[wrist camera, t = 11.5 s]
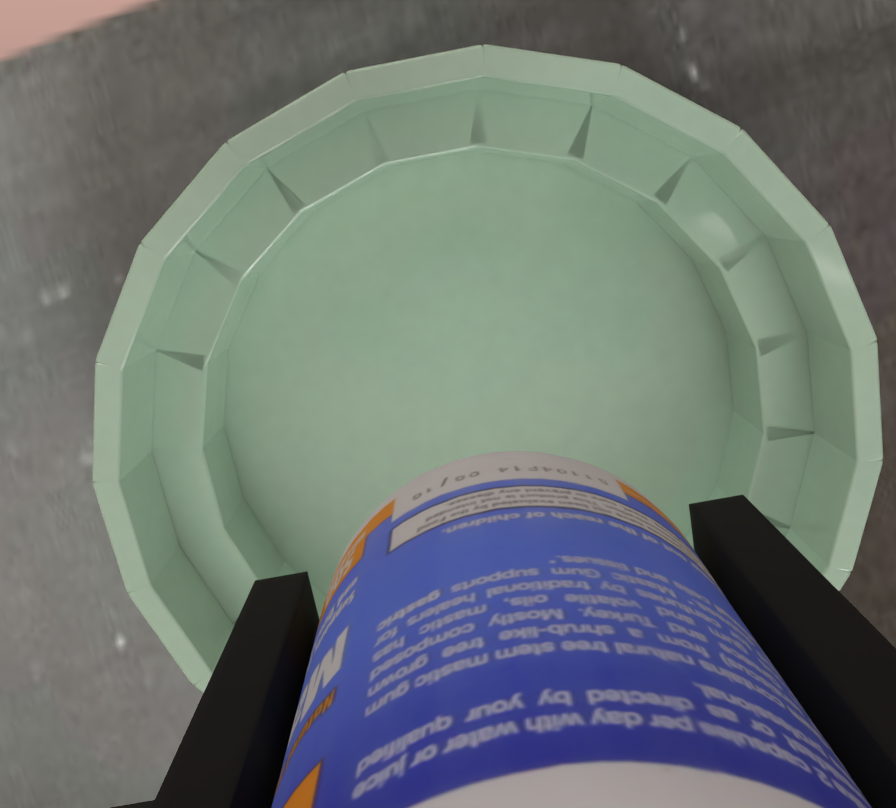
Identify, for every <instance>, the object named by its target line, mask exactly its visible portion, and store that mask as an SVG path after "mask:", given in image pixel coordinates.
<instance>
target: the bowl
mask: <svg viewBox="0 0 896 808" xmlns="http://www.w3.org/2000/svg"><path fill="white" fill-rule="evenodd" d="M876 340H877V337H876V335H875V332H874V330H873V328H872V325H871V323H870V320H869V318H868V315H867V313H866V310H865V308H864V306H863V303H862V301H861V298H860V296H859V293H858V291H857V289H856V286H855V284H854V281H853V279H852V276H851V274H850V272H849V269H848V267H847V264H846V262H845V259H844V257H843V254H842V252H841V250H840V247H839V245H838V242H837V240H836V237H835V235H834V233H833V230H832V228H831V226H830V225H828V222H827V221H826V220H825V219H824V218H823V216H822V215H821V214H820V213H819V212H818V211H817V210H816V209H815V208H814V207H813V205H812V204H811V203H810V202H809V201H808V200H807V199H806V198H805V197H804V196H803V194H802V193H801V192H800V191H799V190H798V189H797V188H796V187H795V186H794V184H793V183H792V182H791V181H790V180H789V179H788V178H787V177H786V176H785V175H784V173H783V172H782V171H781V170H780V169H779V168H778V167H777V166H776V165H775V164H774V162H773V161H772V160H771V159H770V158H769V157H768V156H767V155H766V154H765V153H764V151H763V150H762V149H761V148H760V147H759V146H758V145H757V144H756V143H755V142H754V140H753V139H752V138H751V137H750V136H749V135H748V134H747V133H746V132H745V130H742V129H740V127H739V126H738V125H736V124H734V123H732V122H730V121H728V120H727V119H725V118H723V117H721V116H719V115H717V114H715V113H713V112H711V111H710V110H708V109H706V108H704V107H702V106H700V105H698V104H696V103H694V102H693V101H691V100H689V99H687V98H685V97H683V96H681V95H679V94H677V93H676V92H674V91H672V90H670V89H668V88H666V87H664V86H662V85H660V84H659V83H657V82H655V81H653V80H651V79H649V78H647V77H645V76H643V75H642V74H640V73H638V72H636V71H634V70H632V69H630V68H628V67H626V66H621V65H620V64H619V63H613V62H606V61H599V60H592V59H585V58H578V57H572V56H565V55H558V54H551V53H544V52H537V51H530V50H523V49H516V48H510V47H503V46H496V45H489V44H484V45H483V46H482V45H474V46H469V47H464V48H459V49H454V50H449V51H444V52H439V53H433V54H428V55H423V56H418V57H413V58H408V59H403V60H398V61H393V62H388V63H383V64H378V65H372V66H367V67H362V68H357V69H352V70H348V71H347V72H346V74H345V73H340V74H339V75H337V76H335V77H334V78H332V79H330V80H328V81H327V82H325V83H323V84H322V85H320V86H318V87H317V88H315V89H313V90H311V91H310V92H308V93H306V94H305V95H303V96H301V97H300V98H298V99H296V100H294V101H293V102H291V103H289V104H288V105H286V106H284V107H282V108H281V109H279V110H277V111H276V112H274V113H272V114H271V115H269V116H267V117H265V118H264V119H262V120H260V121H259V122H257V123H255V124H254V125H252V126H250V127H248V128H247V129H245V130H243V131H242V132H240V133H238V134H237V135H235V136H233V137H231V138H230V139H228V141H227V143H226V142H225V143H223V144H222V146H221V147H220V148H219V149H218V150H217V152H216V153H215V154H214V155H213V156H212V157H211V159H210V160H209V161H208V162H207V163H206V165H205V166H204V167H203V168H202V169H201V171H200V172H199V173H198V174H197V175H196V176H195V178H194V179H193V180H192V181H191V182H190V184H189V185H188V186H187V187H186V188H185V189H184V191H183V192H182V193H181V194H180V195H179V197H178V198H177V199H176V200H175V201H174V203H173V204H172V205H171V206H170V207H169V208H168V210H167V211H166V212H165V213H164V214H163V216H162V217H161V218H160V219H159V220H158V221H157V223H156V224H155V225H154V226H153V227H152V229H151V230H150V231H149V232H148V233H147V235H146V236H145V237H144V238H143V239H142V241H141V244H139V245H138V248H137V251H136V253H135V256H134V258H133V261H132V264H131V266H130V269H129V272H128V274H127V277H126V280H125V282H124V285H123V288H122V290H121V293H120V296H119V298H118V301H117V304H116V306H115V309H114V312H113V314H112V317H111V319H110V322H109V325H108V327H107V330H106V333H105V335H104V338H103V341H102V343H101V346H100V349H99V351H98V354H97V357H96V363H95V387H94V429H93V472H92V480H93V481H94V482H93V487H94V490H95V493H96V497H97V500H98V503H99V506H100V509H101V512H102V516H103V519H104V522H105V525H106V528H107V531H108V535H109V538H110V541H111V544H112V547H113V551H114V554H115V557H116V560H117V563H118V566H119V570H120V573H121V576H122V579H123V582H124V585H125V589H126V591H127V592H128V595H129V597H130V598H131V600H132V601H133V602H134V604H135V605H136V607H137V608H138V609H139V611H140V612H141V614H142V615H143V616H144V618H145V619H146V621H147V622H148V623H149V625H150V626H151V628H152V629H153V630H154V632H155V633H156V635H157V636H158V637H159V639H160V640H161V642H162V643H163V644H164V646H165V647H166V649H167V650H168V651H169V653H170V654H171V656H172V657H173V658H174V660H175V661H176V663H177V664H178V666H179V667H180V668H181V670H182V671H183V673H184V674H185V675H186V677H187V678H188V680H189V681H190V682H191V684H194V686H195V687H196V688H197V689H199V690H200V691H201V692H203V693H204V691H205V689H206V687H207V685H208V682H209V680H210V678H211V676H212V674H213V672H214V669H215V667H216V665H217V663H218V661H219V658H220V656H221V654H222V652H223V650H224V647H225V645H226V643H227V641H228V639H229V636H230V634H231V632H232V630H233V628H234V625H235V623H236V621H237V619H238V617H239V614H240V612H241V610H242V608H243V606H244V603H245V601H246V599H247V597H248V595H249V592H250V590H251V588H252V586H253V584H254V581H255V580H261V579H267V578H272V577H278V576H284V575H289V574H295V573H301V572H306V571H307V572H308V576H309V580H310V584H311V588H312V592H313V596H314V600H315V604H316V608H317V612H318V616H319V620H320V616H321V613H322V609H323V606H324V602H325V599H326V596H327V592H328V590H329V587H330V584H331V581H332V579H333V576H334V573H335V571H336V568H337V566H338V564H339V561H340V559H341V557H342V555H343V553H344V551H345V549H346V547H347V546H348V544H349V542H350V541H351V539H352V538H353V536H354V535H355V533H356V532H357V531H358V529H359V528H360V526H361V525H362V524H363V522H364V521H365V520H366V519H367V518H368V517H369V515H370V514H371V513H372V512H373V511H374V510H375V509H376V508H377V507H378V506H379V505H380V504H381V503H382V502H383V501H384V500H385V499H387V498H388V497H389V496H390V495H392V494H393V493H394V492H395V491H396V490H398V489H399V488H401V487H402V486H404V485H405V484H407V483H408V482H410V481H411V480H413V479H415V478H416V477H418V476H420V475H421V474H424V473H426V472H428V471H430V470H432V469H435V468H437V467H440V466H442V465H444V464H447V463H449V462H452V461H456V460H459V459H463V458H466V457H470V456H474V455H480V454H486V453H491V452H506V451H527V452H542V453H548V454H553V455H557V456H562V457H566V458H571V459H575V460H579V461H582V462H585V463H588V464H591V465H593V466H596V467H598V468H600V469H603V470H605V471H607V472H609V473H611V474H613V475H615V476H617V477H619V478H620V479H622V480H623V481H625V482H627V483H628V484H630V485H631V486H633V487H634V488H636V489H637V490H638V491H640V492H641V493H642V494H644V495H645V496H646V497H647V498H648V499H650V500H651V501H652V502H653V503H654V504H655V505H656V506H657V507H658V508H659V509H660V510H661V511H662V512H663V513H664V514H665V515H666V516H667V517H668V518H669V519H670V520H671V521H672V522H673V523H674V524H675V525H676V526H677V528H678V529H679V530H680V531H681V533H682V534H683V535H684V537H685V538H686V539H687V541H688V542H689V544H690V545H691V546H692V548H693V549H694V545H693V537H692V528H691V519H690V511H689V504H692V503H698V502H703V501H709V500H715V499H720V498H726V497H732V496H737V495H744V496H745V497H746V498H747V499H748V500H749V501H750V502H751V503H752V504H753V505H754V506H755V507H756V508H757V509H758V510H759V511H760V512H761V513H762V514H763V515H764V516H765V517H766V518H767V519H768V520H769V521H770V522H771V523H772V524H773V525H774V526H775V527H776V528H777V529H778V530H779V531H780V532H781V533H782V534H783V535H784V536H785V537H786V538H787V539H788V540H789V541H790V542H791V543H792V544H793V545H794V546H795V547H796V548H797V549H798V551H799V552H800V553H801V554H802V555H803V556H804V557H805V558H806V559H807V560H808V561H809V562H810V563H811V564H812V565H813V566H814V567H815V568H816V569H817V570H818V571H819V572H820V573H821V574H822V575H823V576H824V577H825V578H826V579H827V580H828V581H829V582H830V583H831V584H832V585H833V586H834V587H835V588H836V589H837V590H838V591H840V589H841V588H842V586H843V585H844V583H845V582H846V580H847V579H848V577H849V576H850V571H852V570H853V567H854V563H855V560H856V556H857V553H858V549H859V545H860V542H861V538H862V535H863V531H864V528H865V524H866V521H867V517H868V513H869V510H870V506H871V503H872V499H873V496H874V492H875V489H876V485H877V482H878V478H879V474H880V471H881V467H882V464H883V461H882V459H883V445H882V425H881V405H880V385H879V365H878V345H877V342H876Z"/></svg>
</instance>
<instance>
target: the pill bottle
mask: <svg viewBox="0 0 896 808" xmlns="http://www.w3.org/2000/svg"><path fill="white" fill-rule="evenodd" d="M271 808H872V807H871V805H870V804H869V802H868V801H867V800H866V798H865V797H864V795H863V794H862V792H861V791H860V790H859V788H858V787H857V785H856V784H855V782H854V781H853V780H852V778H851V776H850V775H849V773H848V772H847V770H846V769H845V767H844V766H843V764H842V763H841V762H840V760H839V759H838V757H837V756H836V755H835V753H834V752H833V750H832V748H831V747H830V746H829V744H828V743H827V742H826V740H825V739H824V738H823V736H822V735H821V733H820V732H819V731H818V729H817V728H816V726H815V725H814V723H813V722H812V720H811V719H810V718H809V716H808V715H807V713H806V712H805V710H804V709H803V708H802V706H801V705H800V703H799V702H798V700H797V699H796V698H795V696H794V695H793V693H792V692H791V690H790V689H789V687H788V686H787V685H786V683H785V682H784V680H783V679H782V677H781V676H780V675H779V673H778V672H777V670H776V669H775V667H774V666H773V664H772V663H771V662H770V660H769V659H768V657H767V656H766V654H765V653H764V652H763V650H762V649H761V647H760V646H759V644H758V643H757V642H756V640H755V639H754V637H753V636H752V634H751V633H750V632H749V630H748V629H747V627H746V626H745V624H744V623H743V622H742V620H741V619H740V617H739V616H738V614H737V613H736V612H735V610H734V609H733V607H732V606H731V604H730V603H729V601H728V600H727V598H726V597H725V595H724V594H723V592H722V591H721V589H720V588H719V586H718V585H717V583H716V582H715V580H714V579H713V577H712V576H711V574H710V573H709V572H708V570H707V569H706V567H705V566H704V564H703V563H702V561H701V560H700V558H699V557H698V555H697V554H696V552H695V551H694V549H693V548H692V546H691V545H690V544H689V542H688V541H687V539H686V538H685V537H684V535H683V534H682V533H681V531H680V530H679V529H678V528H677V526H676V525H675V524H674V523H673V522H672V521H671V520H670V519H669V518H668V517H667V516H666V515H665V514H664V513H663V512H662V511H661V510H660V509H659V508H658V507H657V506H656V505H655V504H654V503H653V502H652V501H651V500H650V499H648V498H647V497H646V496H645V495H644V494H642V493H641V492H640V491H638V490H637V489H636V488H634V487H633V486H631V485H630V484H628V483H627V482H625V481H623V480H622V479H620V478H619V477H617V476H615V475H613V474H611V473H609V472H607V471H605V470H603V469H600V468H598V467H596V466H593V465H591V464H588V463H585V462H582V461H579V460H575V459H571V458H566V457H562V456H557V455H553V454H548V453H542V452H527V451H506V452H491V453H486V454H480V455H474V456H470V457H466V458H463V459H459V460H456V461H452V462H449V463H447V464H444V465H442V466H440V467H437V468H435V469H432V470H430V471H428V472H426V473H424V474H421V475H420V476H418V477H416V478H415V479H413V480H411V481H410V482H408V483H407V484H405V485H404V486H402V487H401V488H399V489H398V490H396V491H395V492H394V493H393V494H392V495H390V496H389V497H388V498H387V499H385V500H384V501H383V502H382V503H381V504H380V505H379V506H378V507H377V508H376V509H375V510H374V511H373V512H372V513H371V514H370V515H369V517H368V518H367V519H366V520H365V521H364V522H363V524H362V525H361V526H360V528H359V529H358V531H357V532H356V533H355V535H354V536H353V538H352V539H351V541H350V542H349V544H348V546H347V547H346V549H345V551H344V553H343V555H342V557H341V559H340V561H339V564H338V566H337V568H336V571H335V573H334V576H333V579H332V581H331V584H330V587H329V590H328V592H327V596H326V599H325V602H324V606H323V609H322V613H321V616H320V620H319V624H318V628H317V632H316V636H315V640H314V644H313V648H312V652H311V656H310V660H309V664H308V668H307V672H306V676H305V680H304V684H303V687H302V691H301V695H300V699H299V703H298V707H297V711H296V715H295V719H294V723H293V726H292V730H291V734H290V738H289V742H288V746H287V750H286V754H285V757H284V761H283V765H282V769H281V773H280V777H279V780H278V784H277V788H276V792H275V795H274V799H273V803H272V807H271Z"/></svg>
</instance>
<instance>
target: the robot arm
mask: <svg viewBox="0 0 896 808" xmlns="http://www.w3.org/2000/svg"><path fill="white" fill-rule="evenodd" d="M689 511H690V519H691V528H692V537H693V545H694V551H695V552H696V554H697V555H698V557H699V558H700V560H701V561H702V563H703V564H704V566H705V567H706V569H707V570H708V572H709V573H710V574H711V576H712V577H713V579H714V580H715V582H716V583H717V585H718V586H719V588H720V589H721V591H722V592H723V594H724V595H725V597H726V598H727V600H728V601H729V603H730V604H731V606H732V607H733V609H734V610H735V612H736V613H737V614H738V616H739V617H740V619H741V620H742V622H743V623H744V624H745V626H746V627H747V629H748V630H749V632H750V633H751V634H752V636H753V637H754V639H755V640H756V642H757V643H758V644H759V646H760V647H761V649H762V650H763V652H764V653H765V654H766V656H767V657H768V659H769V660H770V662H771V663H772V664H773V666H774V667H775V669H776V670H777V672H778V673H779V675H780V676H781V677H782V679H783V680H784V682H785V683H786V685H787V686H788V687H789V689H790V690H791V692H792V693H793V695H794V696H795V698H796V699H797V700H798V702H799V703H800V705H801V706H802V708H803V709H804V710H805V712H806V713H807V715H808V716H809V718H810V719H811V720H812V722H813V723H814V725H815V726H816V728H817V729H818V731H819V732H820V733H821V735H822V736H823V738H824V739H825V740H826V742H827V743H828V744H829V746H830V747H831V748H832V750H833V752H834V753H835V755H836V756H837V757H838V759H839V760H840V762H841V763H842V764H843V766H844V767H845V769H846V770H847V772H848V773H849V775H850V776H851V778H852V780H853V781H854V782H855V784H856V785H857V787H858V788H859V790H860V791H861V792H862V794H863V795H864V797H865V798H866V800H867V801H868V802H869V804H870V805H871V807H872V808H896V649H895V648H894V647H893V646H892V645H891V643H890V642H889V641H888V640H887V639H886V638H885V637H884V636H883V635H882V634H881V633H880V632H879V631H878V630H877V629H876V628H875V627H874V626H873V625H872V624H871V623H870V622H869V621H868V620H867V619H866V618H865V617H864V616H863V615H862V614H861V613H860V612H859V611H858V610H857V609H856V608H855V607H854V606H853V605H852V604H851V603H850V602H849V601H848V600H847V599H846V598H845V597H844V596H843V595H842V594H841V593H840V592H839V591H838V590H837V589H836V588H835V587H834V586H833V585H832V584H831V583H830V582H829V581H828V580H827V579H826V578H825V577H824V576H823V575H822V574H821V573H820V572H819V571H818V570H817V569H816V568H815V567H814V566H813V565H812V564H811V563H810V562H809V561H808V560H807V559H806V558H805V557H804V556H803V555H802V554H801V553H800V552H799V551H798V549H797V548H796V547H795V546H794V545H793V544H792V543H791V542H790V541H789V540H788V539H787V538H786V537H785V536H784V535H783V534H782V533H781V532H780V531H779V530H778V529H777V528H776V527H775V526H774V525H773V524H772V523H771V522H770V521H769V520H768V519H767V518H766V517H765V516H764V515H763V514H762V513H761V512H760V511H759V510H758V509H757V508H756V507H755V506H754V505H753V504H752V503H751V502H750V501H749V500H748V499H747V498H746V497H745V496H744V495H737V496H732V497H726V498H720V499H715V500H709V501H703V502H698V503H692V504H689ZM318 624H319V616H318V612H317V608H316V604H315V600H314V596H313V592H312V588H311V584H310V580H309V576H308V572H307V571H306V572H301V573H295V574H289V575H284V576H278V577H272V578H267V579H261V580H255V581H254V584H253V586H252V588H251V590H250V592H249V595H248V597H247V599H246V601H245V603H244V606H243V608H242V610H241V612H240V614H239V617H238V619H237V621H236V623H235V625H234V628H233V630H232V632H231V634H230V636H229V639H228V641H227V643H226V645H225V647H224V650H223V652H222V654H221V656H220V658H219V661H218V663H217V665H216V667H215V669H214V672H213V674H212V676H211V678H210V680H209V682H208V685H207V687H206V689H205V691H204V693H203V696H202V698H201V700H200V702H199V704H198V707H197V709H196V711H195V713H194V715H193V718H192V720H191V722H190V724H189V726H188V729H187V731H186V733H185V735H184V737H183V740H182V742H181V744H180V746H179V748H178V751H177V753H176V755H175V757H174V759H173V762H172V764H171V766H170V768H169V770H168V773H167V775H166V777H165V779H164V781H163V783H162V786H161V788H160V790H159V792H158V794H157V797H156V799H155V800H153V801H147V802H141V803H135V804H129V805H123V806H117V807H111V808H271V807H272V803H273V799H274V795H275V792H276V788H277V784H278V780H279V777H280V773H281V769H282V765H283V761H284V757H285V754H286V750H287V746H288V742H289V738H290V734H291V730H292V726H293V723H294V719H295V715H296V711H297V707H298V703H299V699H300V695H301V691H302V687H303V684H304V680H305V676H306V672H307V668H308V664H309V660H310V656H311V652H312V648H313V644H314V640H315V636H316V632H317V628H318Z"/></svg>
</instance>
